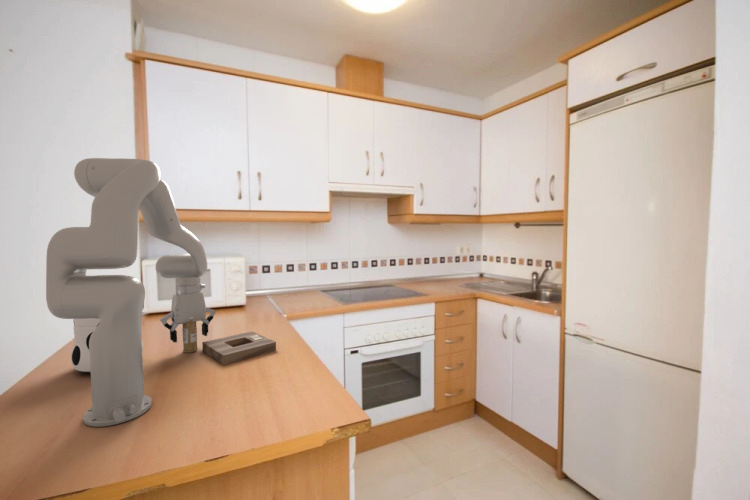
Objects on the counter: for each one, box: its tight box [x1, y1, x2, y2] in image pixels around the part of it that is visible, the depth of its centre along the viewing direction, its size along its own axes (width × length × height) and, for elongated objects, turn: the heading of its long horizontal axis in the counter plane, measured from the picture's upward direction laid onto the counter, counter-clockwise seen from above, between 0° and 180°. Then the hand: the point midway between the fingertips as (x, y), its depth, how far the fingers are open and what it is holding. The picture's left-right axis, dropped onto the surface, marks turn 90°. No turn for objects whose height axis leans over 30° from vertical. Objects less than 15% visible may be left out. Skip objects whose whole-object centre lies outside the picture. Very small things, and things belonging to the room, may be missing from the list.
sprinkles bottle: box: [181, 317, 198, 354], centre depth 118 cm, size 5×5×14 cm
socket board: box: [201, 330, 277, 366], centre depth 119 cm, size 18×18×3 cm
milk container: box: [70, 318, 144, 374], centre depth 105 cm, size 17×17×18 cm
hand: (190, 338), depth 119 cm, fingers open, 9 cm apart
